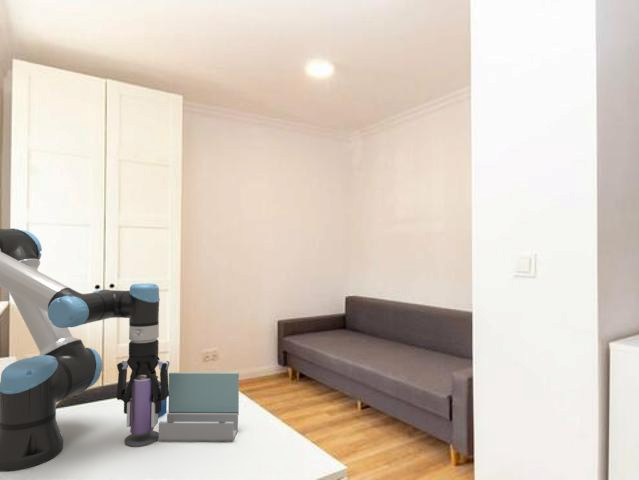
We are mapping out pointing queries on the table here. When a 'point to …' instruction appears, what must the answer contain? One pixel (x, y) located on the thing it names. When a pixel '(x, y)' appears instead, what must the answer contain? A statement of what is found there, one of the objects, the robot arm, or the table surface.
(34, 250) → the robot arm
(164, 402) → the perfume bottle
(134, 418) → the beverage can
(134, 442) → the coaster
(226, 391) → the cover
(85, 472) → the table surface
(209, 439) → the grey rectangular tray
